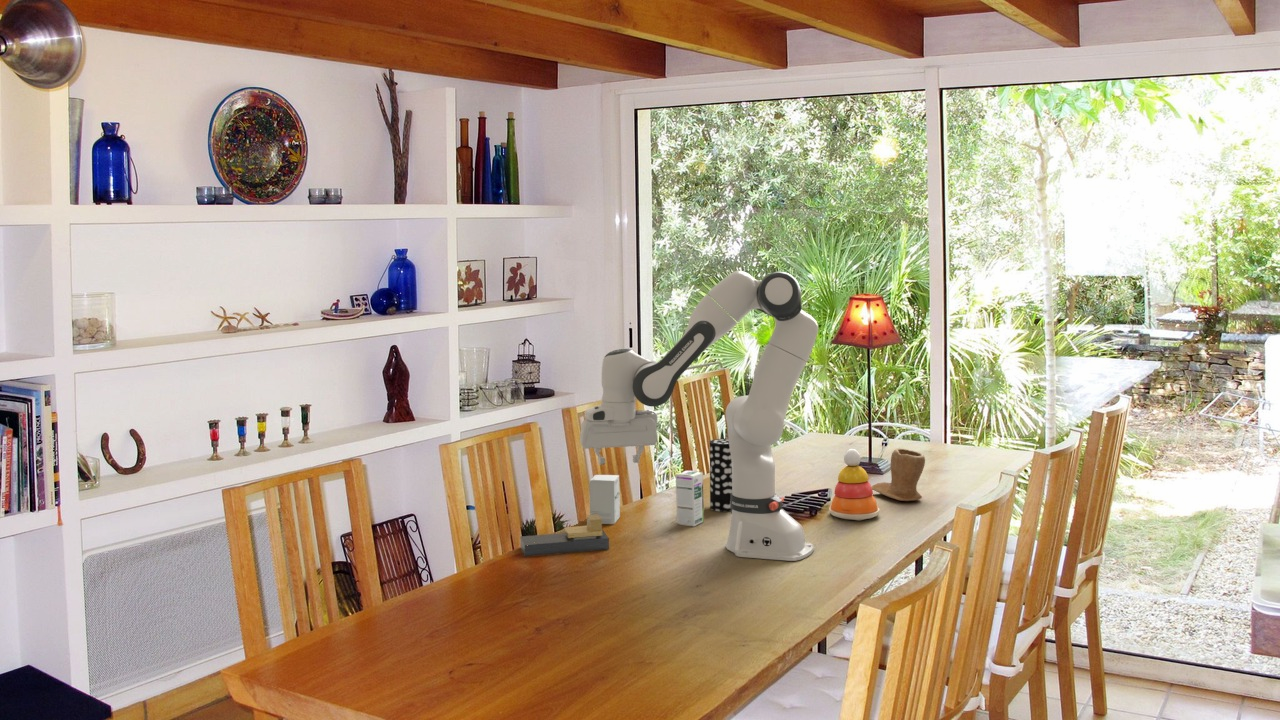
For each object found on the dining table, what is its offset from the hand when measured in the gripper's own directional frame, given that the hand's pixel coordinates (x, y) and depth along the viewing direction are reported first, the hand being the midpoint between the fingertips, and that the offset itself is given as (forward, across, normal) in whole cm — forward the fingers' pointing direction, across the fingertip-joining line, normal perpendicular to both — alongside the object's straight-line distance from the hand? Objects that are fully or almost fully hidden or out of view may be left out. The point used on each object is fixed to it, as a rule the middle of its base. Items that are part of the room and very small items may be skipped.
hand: (619, 463), depth 289 cm
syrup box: (+22, -23, -14) cm, 35 cm away
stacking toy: (+21, -70, -8) cm, 74 cm away
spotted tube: (+22, -38, -27) cm, 51 cm away
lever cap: (+18, +10, 0) cm, 21 cm away
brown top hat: (+21, -93, -24) cm, 98 cm away
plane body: (+22, +15, 0) cm, 26 cm away
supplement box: (+22, -1, -23) cm, 32 cm away
